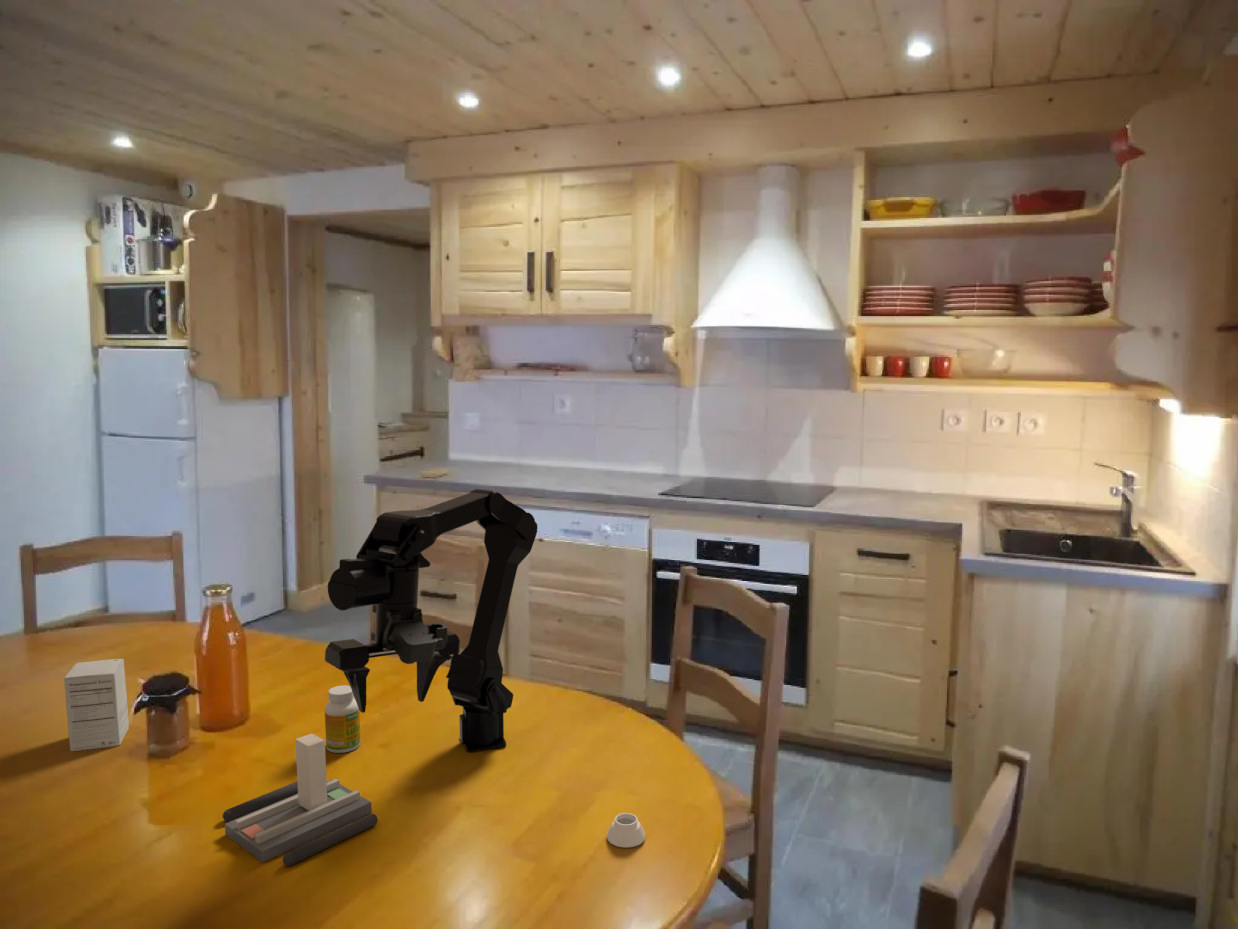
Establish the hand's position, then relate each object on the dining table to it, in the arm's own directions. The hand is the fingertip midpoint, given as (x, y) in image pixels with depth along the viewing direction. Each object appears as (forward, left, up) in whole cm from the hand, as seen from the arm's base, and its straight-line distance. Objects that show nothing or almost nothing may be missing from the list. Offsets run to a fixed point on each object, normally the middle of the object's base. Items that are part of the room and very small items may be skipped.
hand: (392, 706), depth 125 cm
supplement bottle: (+6, -18, -13) cm, 23 cm away
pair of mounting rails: (+13, +5, -13) cm, 19 cm away
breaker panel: (+13, +5, -13) cm, 19 cm away
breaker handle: (+11, +4, -11) cm, 16 cm away
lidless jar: (-28, +23, -14) cm, 39 cm away
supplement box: (+44, -34, -13) cm, 58 cm away
